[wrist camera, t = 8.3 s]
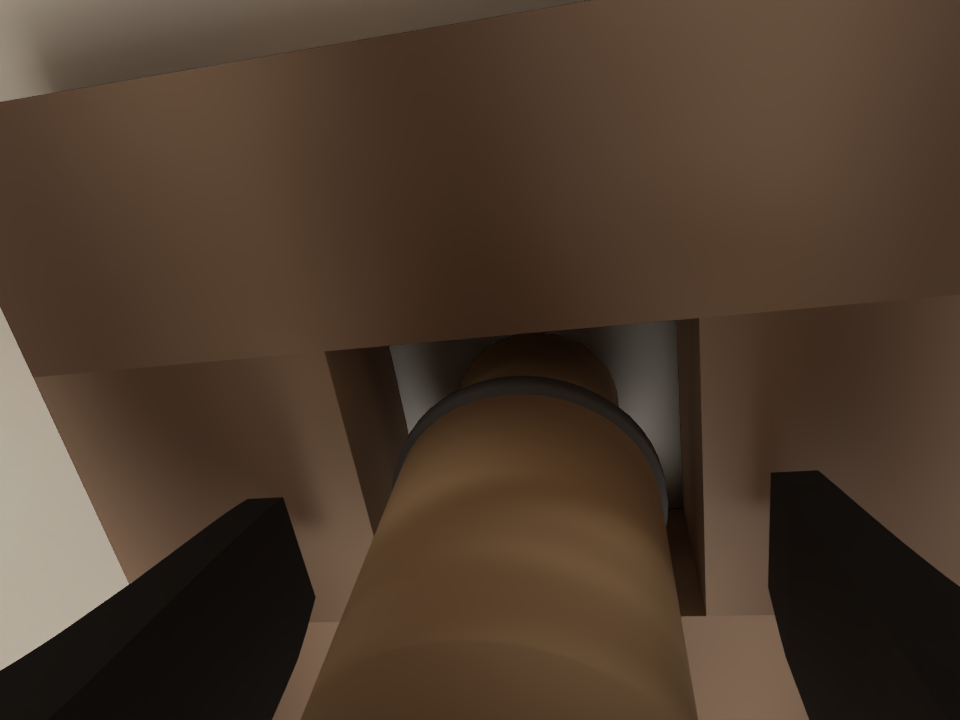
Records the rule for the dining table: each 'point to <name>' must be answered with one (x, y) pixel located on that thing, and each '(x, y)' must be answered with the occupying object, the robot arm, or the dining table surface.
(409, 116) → the board
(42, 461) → the dining table surface
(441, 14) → the dining table surface
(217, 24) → the dining table surface
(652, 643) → the peg
